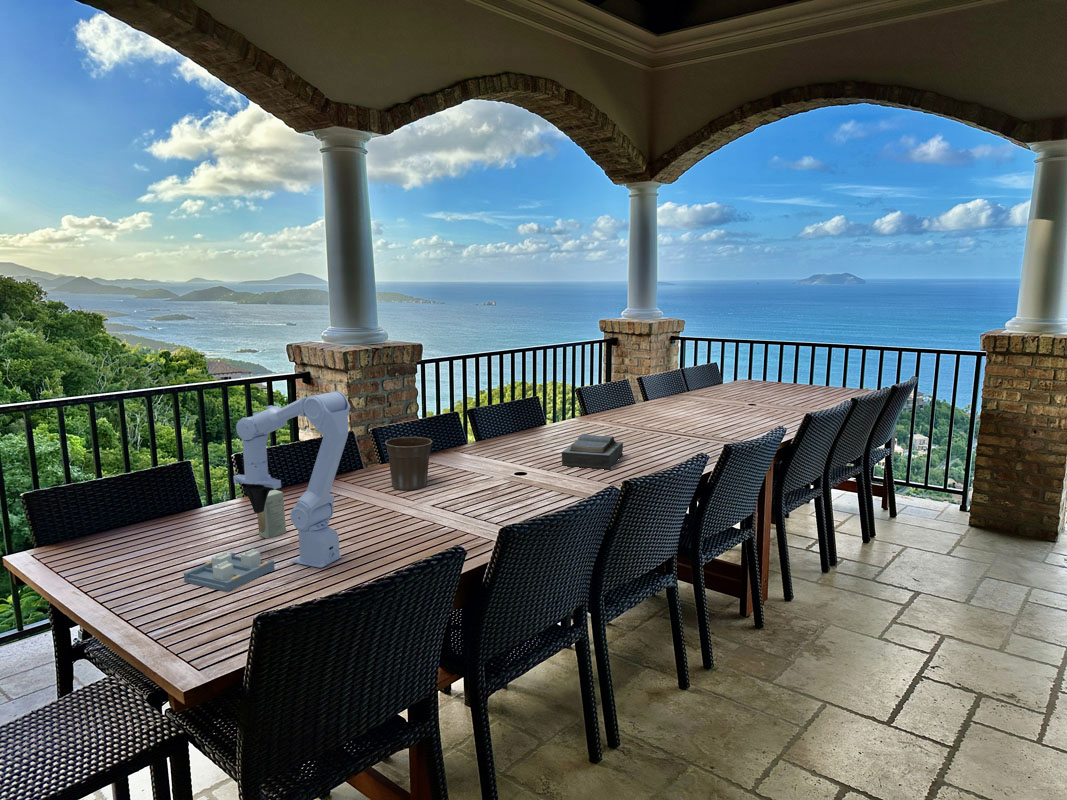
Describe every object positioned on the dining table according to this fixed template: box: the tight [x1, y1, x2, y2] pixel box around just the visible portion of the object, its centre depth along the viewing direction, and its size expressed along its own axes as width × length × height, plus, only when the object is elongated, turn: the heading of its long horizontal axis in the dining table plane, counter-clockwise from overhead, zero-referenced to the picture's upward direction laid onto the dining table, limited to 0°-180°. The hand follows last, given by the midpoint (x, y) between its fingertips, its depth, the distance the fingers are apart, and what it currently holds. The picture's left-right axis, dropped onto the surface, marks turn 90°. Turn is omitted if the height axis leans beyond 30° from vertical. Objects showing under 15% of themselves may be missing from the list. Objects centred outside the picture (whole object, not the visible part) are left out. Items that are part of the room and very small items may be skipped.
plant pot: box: [384, 436, 433, 492], centre depth 245 cm, size 16×16×16 cm
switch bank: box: [183, 552, 275, 593], centre depth 169 cm, size 14×14×2 cm
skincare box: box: [256, 489, 287, 540], centre depth 197 cm, size 6×4×12 cm
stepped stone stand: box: [561, 433, 624, 471], centre depth 280 cm, size 23×27×10 cm
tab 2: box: [213, 561, 234, 582], centre depth 164 cm, size 3×3×4 cm
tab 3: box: [240, 548, 262, 568], centre depth 172 cm, size 3×3×4 cm
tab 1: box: [211, 551, 232, 569], centre depth 170 cm, size 3×3×4 cm
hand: (259, 511), depth 185 cm, fingers closed
